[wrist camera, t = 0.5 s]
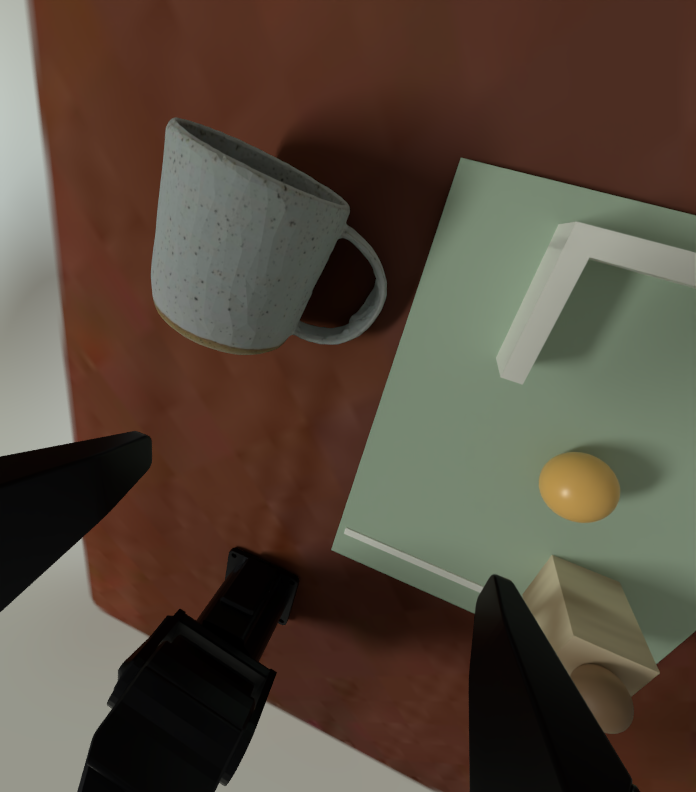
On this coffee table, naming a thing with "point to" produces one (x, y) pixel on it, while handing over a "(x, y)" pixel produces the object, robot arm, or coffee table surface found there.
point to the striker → (593, 638)
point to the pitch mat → (536, 410)
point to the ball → (579, 487)
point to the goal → (562, 274)
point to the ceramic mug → (246, 245)
